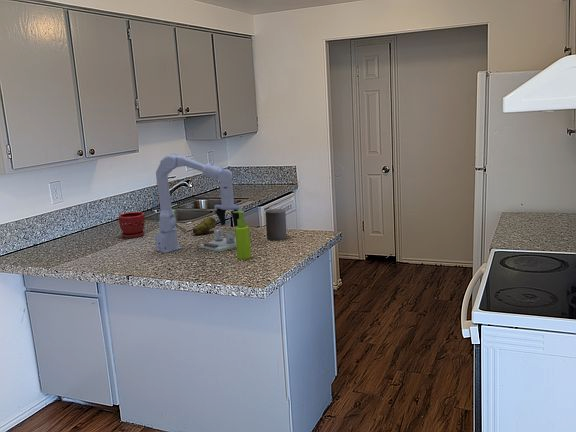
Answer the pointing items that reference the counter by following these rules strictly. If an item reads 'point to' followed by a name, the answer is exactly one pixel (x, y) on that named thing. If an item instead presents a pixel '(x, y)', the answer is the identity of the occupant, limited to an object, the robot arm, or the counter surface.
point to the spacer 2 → (230, 237)
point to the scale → (218, 245)
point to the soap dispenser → (242, 238)
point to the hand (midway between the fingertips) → (229, 225)
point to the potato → (205, 226)
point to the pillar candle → (276, 224)
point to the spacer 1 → (218, 235)
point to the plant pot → (132, 224)
